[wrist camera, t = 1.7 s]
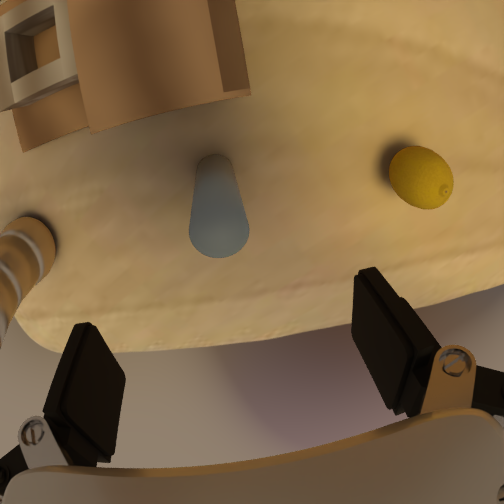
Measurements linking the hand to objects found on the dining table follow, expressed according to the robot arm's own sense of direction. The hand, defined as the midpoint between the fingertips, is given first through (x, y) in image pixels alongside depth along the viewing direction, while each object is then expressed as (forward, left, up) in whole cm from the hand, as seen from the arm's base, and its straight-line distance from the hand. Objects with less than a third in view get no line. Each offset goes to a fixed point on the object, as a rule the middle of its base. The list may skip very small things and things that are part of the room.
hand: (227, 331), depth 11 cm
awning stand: (-15, -7, -19) cm, 26 cm away
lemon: (+2, +18, -20) cm, 27 cm away
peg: (0, 0, -19) cm, 19 cm away
